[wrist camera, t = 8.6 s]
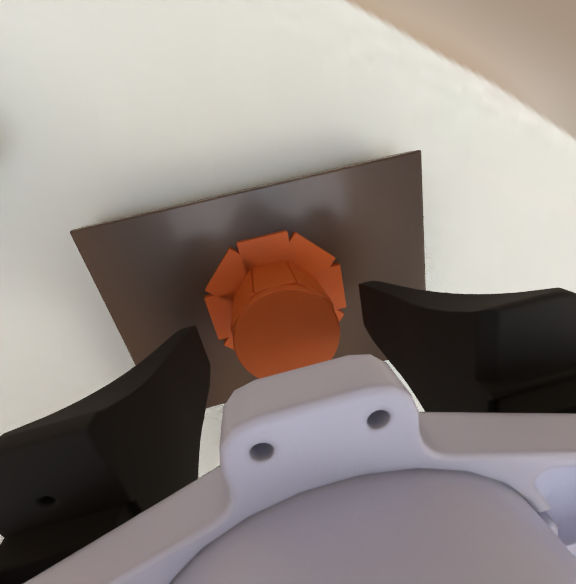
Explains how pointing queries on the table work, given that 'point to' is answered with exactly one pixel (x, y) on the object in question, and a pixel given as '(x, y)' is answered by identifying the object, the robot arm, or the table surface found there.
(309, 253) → the hat
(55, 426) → the robot arm
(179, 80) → the table surface
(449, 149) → the table surface
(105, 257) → the stand
